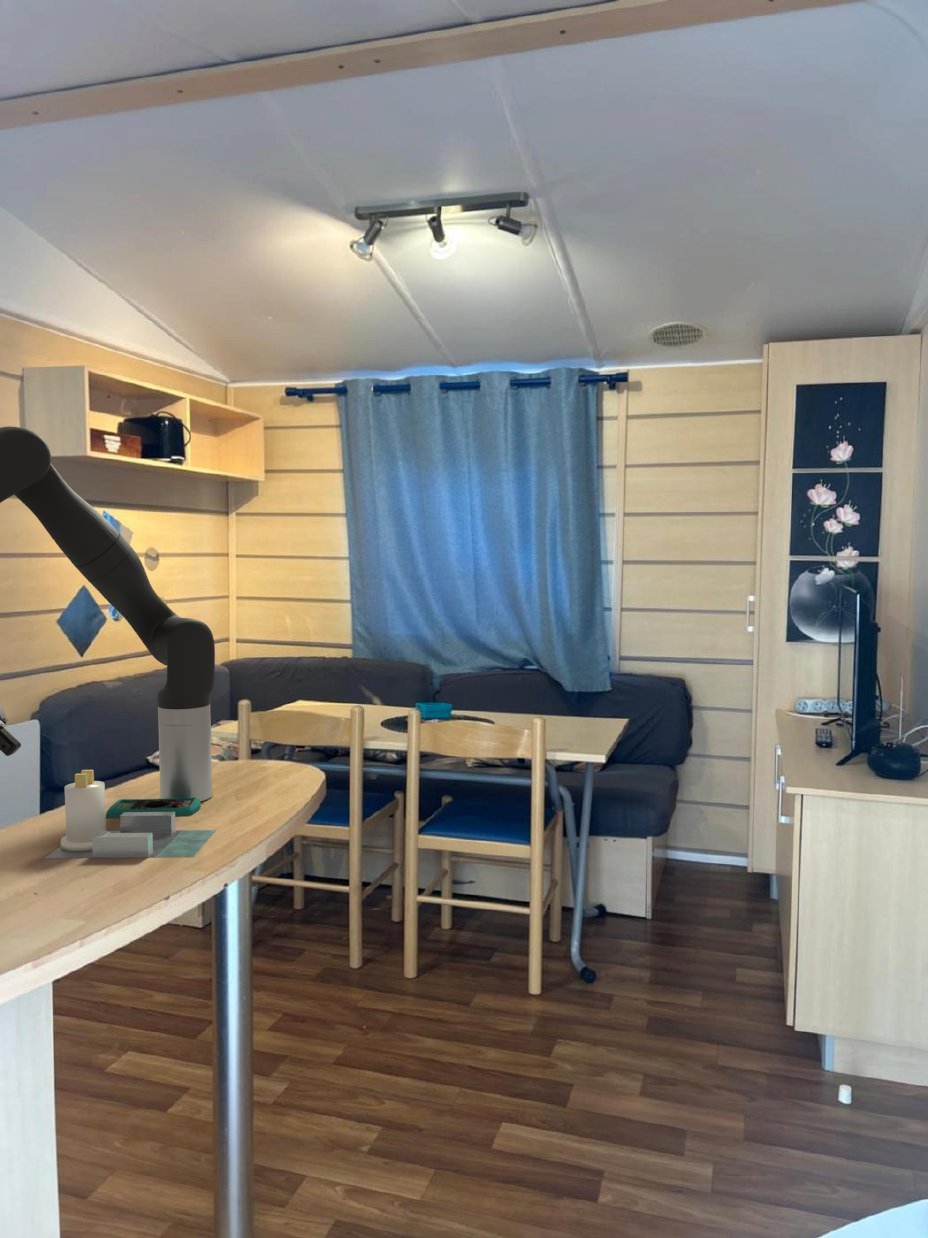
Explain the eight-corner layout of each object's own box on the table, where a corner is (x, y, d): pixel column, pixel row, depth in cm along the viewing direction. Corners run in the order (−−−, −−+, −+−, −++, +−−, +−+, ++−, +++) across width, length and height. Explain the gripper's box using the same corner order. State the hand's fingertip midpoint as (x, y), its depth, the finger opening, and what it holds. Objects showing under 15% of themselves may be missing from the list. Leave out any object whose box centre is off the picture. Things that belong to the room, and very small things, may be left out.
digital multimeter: (196, 823, 155) (195, 806, 155) (104, 826, 153) (104, 809, 153) (203, 811, 162) (203, 795, 162) (116, 814, 161) (116, 797, 160)
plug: (72, 836, 143) (70, 767, 142) (119, 836, 143) (117, 766, 142) (52, 851, 136) (49, 778, 135) (101, 851, 136) (99, 777, 135)
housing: (80, 837, 146) (80, 812, 146) (216, 836, 146) (216, 811, 146) (44, 865, 133) (43, 837, 133) (193, 863, 133) (193, 836, 133)
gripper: (-79, 657, 131) (11, 742, 132) (-30, 648, 144) (51, 725, 145) (-115, 695, 131) (-25, 779, 132) (-63, 682, 144) (18, 759, 145)
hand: (15, 751), depth 138 cm, fingers closed
